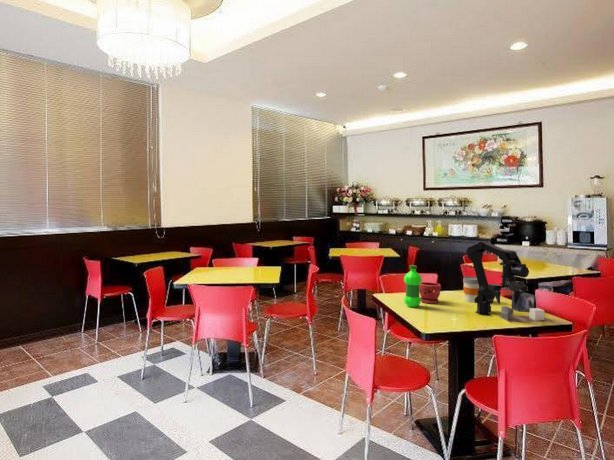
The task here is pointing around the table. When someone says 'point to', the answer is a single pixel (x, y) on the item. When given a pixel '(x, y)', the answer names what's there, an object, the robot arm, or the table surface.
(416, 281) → the plastic bottle
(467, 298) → the reusable coffee cup
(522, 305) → the small box
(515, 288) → the robot arm
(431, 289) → the plant pot
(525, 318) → the walnut strip
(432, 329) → the table surface
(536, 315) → the off-white block
